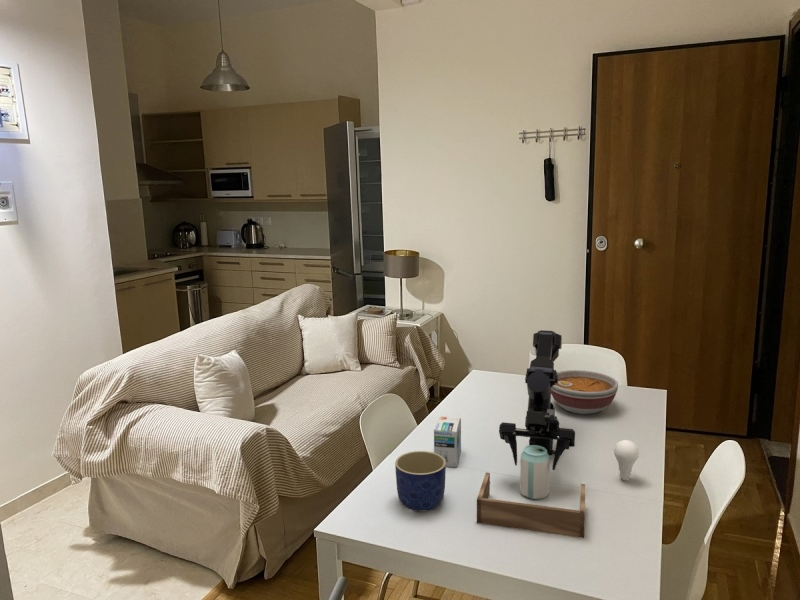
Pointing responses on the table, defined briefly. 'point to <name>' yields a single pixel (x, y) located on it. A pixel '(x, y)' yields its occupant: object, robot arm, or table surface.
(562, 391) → the bowl
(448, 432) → the light bulb box
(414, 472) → the planter
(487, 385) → the table surface
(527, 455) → the can
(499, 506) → the three-sided wooden tray
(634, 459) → the lightbulb
